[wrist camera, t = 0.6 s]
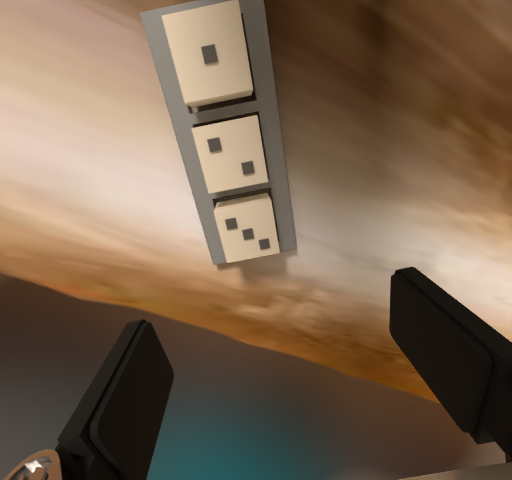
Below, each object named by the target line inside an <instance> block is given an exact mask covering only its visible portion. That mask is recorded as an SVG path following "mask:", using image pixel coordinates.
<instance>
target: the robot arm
mask: <svg viewBox="0 0 512 480" xmlns="http://www.w3.org/2000/svg"><path fill="white" fill-rule="evenodd" d="M389 329H390V333H391V336H392V338H393V339H394V341H395V342H396V343H397V345H398V346H399V347H400V349H401V350H402V351H403V353H404V354H405V355H406V357H407V358H408V359H409V361H410V362H411V363H412V365H413V366H414V368H415V369H416V370H417V372H418V373H419V374H420V376H421V377H422V378H423V380H424V381H425V382H426V384H427V385H428V386H429V388H430V389H431V390H432V392H433V393H434V394H435V396H436V397H437V399H438V400H439V401H440V403H441V404H442V405H443V407H444V408H445V409H446V411H447V412H448V413H449V415H450V416H451V417H452V419H453V420H454V421H455V423H456V424H457V425H458V426H459V428H460V429H461V430H462V431H463V432H466V433H467V432H468V433H469V434H470V435H471V437H472V438H473V439H474V441H475V442H476V443H477V444H483V443H489V442H494V441H495V442H496V443H497V444H498V445H499V446H500V448H501V449H502V450H503V451H504V452H505V460H506V463H502V464H494V465H488V466H481V467H474V468H467V469H460V470H454V471H448V472H443V473H436V474H430V475H424V476H418V477H412V478H407V479H401V480H512V342H510V341H509V340H508V339H506V338H505V337H504V336H503V335H501V334H500V333H499V332H497V331H496V330H495V329H493V328H492V327H491V326H490V325H488V324H487V323H486V322H484V321H483V320H482V319H481V318H479V317H478V316H477V315H475V314H474V313H473V312H471V311H470V310H469V309H468V308H466V307H465V306H464V305H462V304H461V303H460V302H459V301H457V300H456V299H455V298H453V297H452V296H451V295H449V294H448V293H447V292H446V291H444V290H443V289H442V288H440V287H439V286H438V285H437V284H435V283H434V282H433V281H431V280H430V279H429V278H427V277H426V276H425V275H424V274H422V273H421V272H420V271H418V270H417V269H416V268H414V267H409V268H404V269H399V270H396V271H395V274H393V275H392V276H391V290H390V326H389ZM173 379H174V374H173V369H172V367H171V365H170V363H169V360H168V358H167V356H166V354H165V352H164V350H163V348H162V345H161V343H160V341H159V339H158V337H157V335H156V332H155V331H154V328H153V326H152V324H151V323H150V322H147V321H145V320H138V321H133V322H129V323H127V324H126V326H125V328H124V329H123V331H122V333H121V334H120V336H119V338H118V340H117V341H116V343H115V345H114V346H113V348H112V349H111V351H110V353H109V354H108V356H107V358H106V359H105V361H104V363H103V364H102V366H101V368H100V369H99V371H98V373H97V374H96V376H95V378H94V379H93V381H92V383H91V384H90V386H89V388H88V389H87V391H86V393H85V394H84V396H83V398H82V399H81V401H80V403H79V404H78V406H77V408H76V409H75V411H74V413H73V414H72V416H71V418H70V420H69V421H68V423H67V425H66V426H65V428H64V429H63V431H62V433H61V434H60V436H59V438H58V439H57V440H58V441H59V444H58V445H57V447H56V449H55V450H52V449H48V450H42V451H40V452H37V453H35V454H33V455H32V456H30V457H28V458H27V459H25V460H24V461H23V462H21V463H20V464H19V465H18V466H17V467H16V468H14V469H13V470H12V471H11V472H10V473H9V474H8V476H7V477H6V478H5V479H4V480H146V478H147V474H148V471H149V467H150V463H151V459H152V456H153V452H154V448H155V445H156V441H157V438H158V434H159V430H160V426H161V423H162V419H163V416H164V412H165V408H166V405H167V401H168V397H169V394H170V390H171V386H172V383H173Z"/></svg>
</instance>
